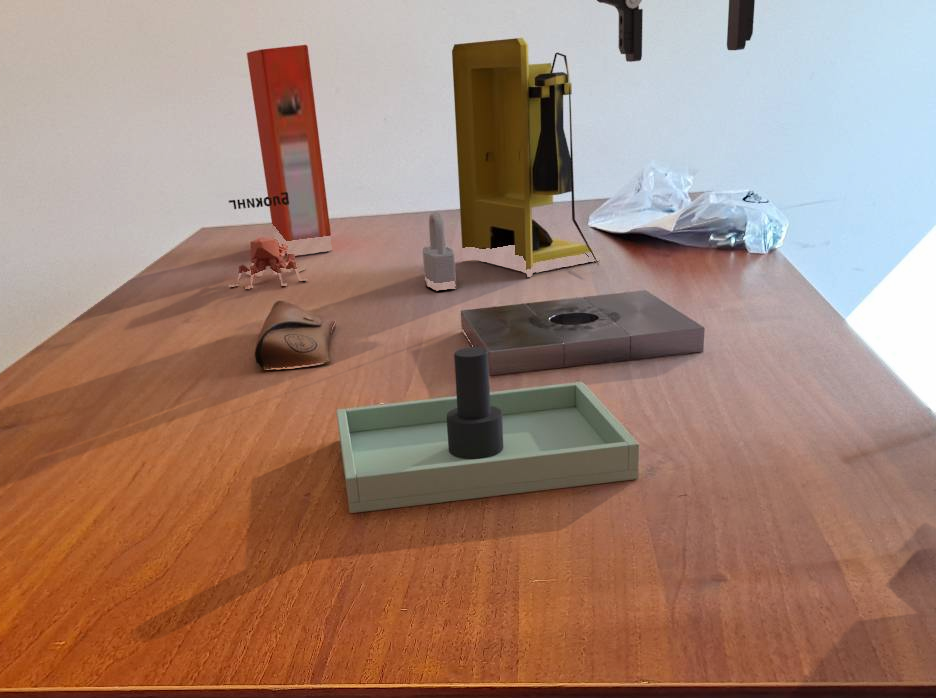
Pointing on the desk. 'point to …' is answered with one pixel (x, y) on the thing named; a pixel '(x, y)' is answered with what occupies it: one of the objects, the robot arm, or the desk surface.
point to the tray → (509, 472)
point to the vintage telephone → (511, 148)
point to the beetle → (267, 244)
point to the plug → (473, 409)
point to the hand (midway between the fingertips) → (685, 55)
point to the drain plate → (580, 332)
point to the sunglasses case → (293, 338)
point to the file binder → (289, 140)
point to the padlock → (438, 253)
